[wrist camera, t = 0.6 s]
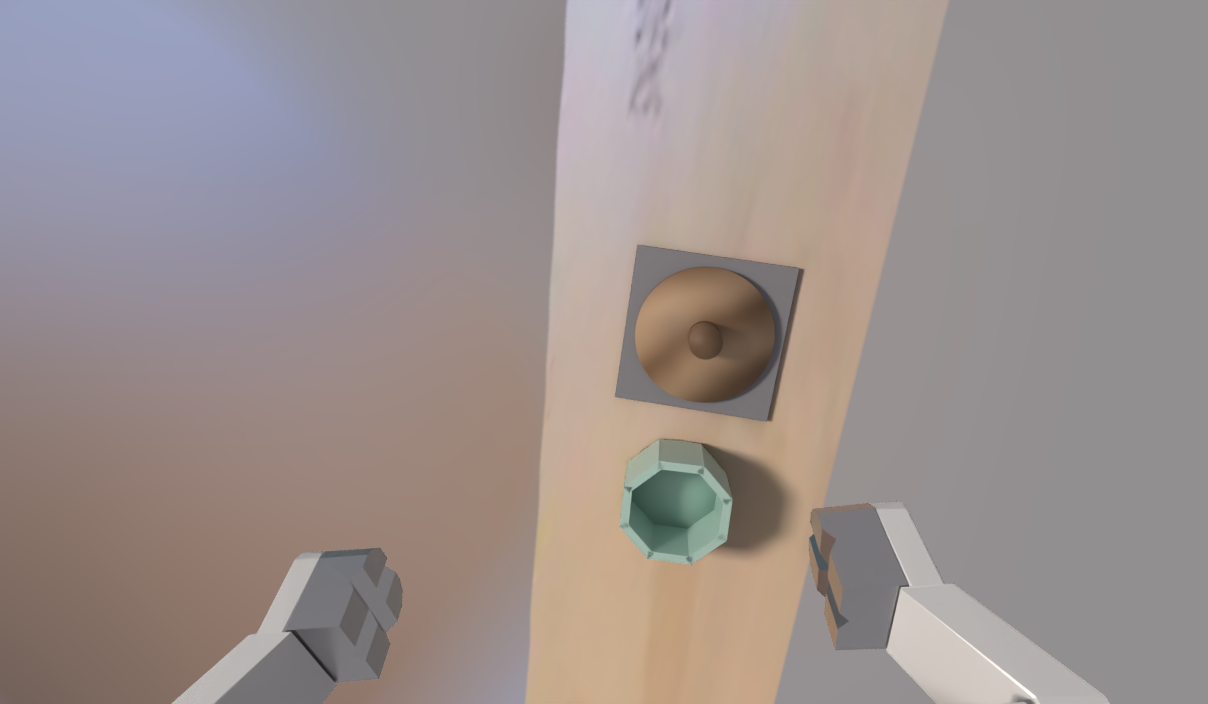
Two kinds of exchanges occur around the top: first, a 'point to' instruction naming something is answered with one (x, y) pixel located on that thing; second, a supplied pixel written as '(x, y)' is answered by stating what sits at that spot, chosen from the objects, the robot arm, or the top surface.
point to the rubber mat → (663, 263)
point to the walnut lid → (704, 334)
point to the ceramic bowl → (675, 502)
